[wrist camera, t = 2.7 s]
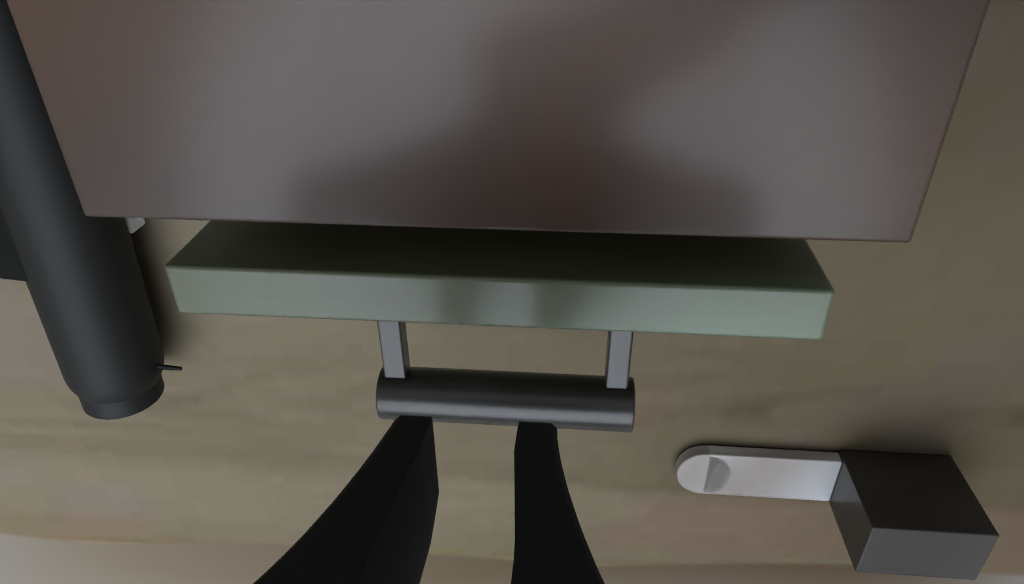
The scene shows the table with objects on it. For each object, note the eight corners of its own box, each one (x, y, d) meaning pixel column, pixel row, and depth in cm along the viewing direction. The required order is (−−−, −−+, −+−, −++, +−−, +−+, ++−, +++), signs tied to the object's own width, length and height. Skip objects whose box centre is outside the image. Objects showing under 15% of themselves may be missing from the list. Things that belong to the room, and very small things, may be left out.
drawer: (727, 361, 22) (772, 522, 17) (312, 342, 23) (232, 489, 18) (895, -506, 12) (1137, -783, 7) (152, -471, 13) (-138, -687, 8)
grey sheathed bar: (951, 455, 25) (1000, 535, 22) (932, 499, 26) (975, 580, 23) (678, 441, 25) (690, 516, 22) (671, 483, 26) (682, 561, 24)
